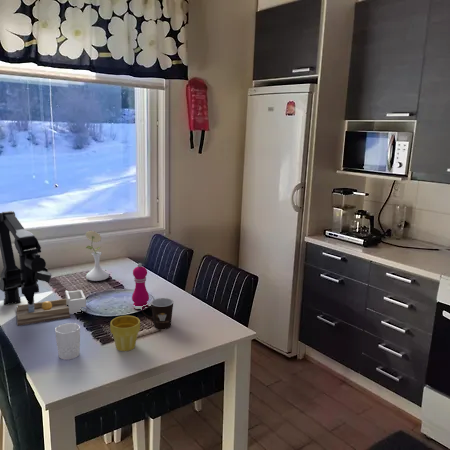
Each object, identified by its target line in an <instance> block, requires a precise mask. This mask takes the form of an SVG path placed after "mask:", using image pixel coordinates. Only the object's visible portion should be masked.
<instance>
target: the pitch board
mask: <svg viewBox="0 0 450 450" xmlns="http://www.w3.org/2000/svg"><path fill="white" fill-rule="evenodd" d="M48 301H49V302H51V303H52V308H51V309H50V310H43V309H42V304H43V303H44V302H45V301H39V302H34V312H31V313H29V308H28V303H26V304H25V303H23V304H17V306H16V322H17V327H19V326H25V325H30V324H31V325H32V324H37V323H43V322H50V321H55V320H56V321H57V320H62V319H69V318H71V314H70V313H69V306H67V304H66V298H60V299H55V300H54V299H53V300H48Z"/></svg>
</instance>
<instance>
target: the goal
mask: <svg viewBox="0 0 450 450" xmlns="http://www.w3.org/2000/svg"><path fill="white" fill-rule="evenodd" d="M64 293H65V299H66V304H67V305H68V307H69V313H70V315H73V314H74V313H76V314H78V313H77V312H81V310H80V308H81V307H86V308H87V302H86V301H87V299H86V296H85V294H84V292H83V290H82V289H78V290H71V291H68V290H65V292H64ZM74 315H75V314H74Z"/></svg>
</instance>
